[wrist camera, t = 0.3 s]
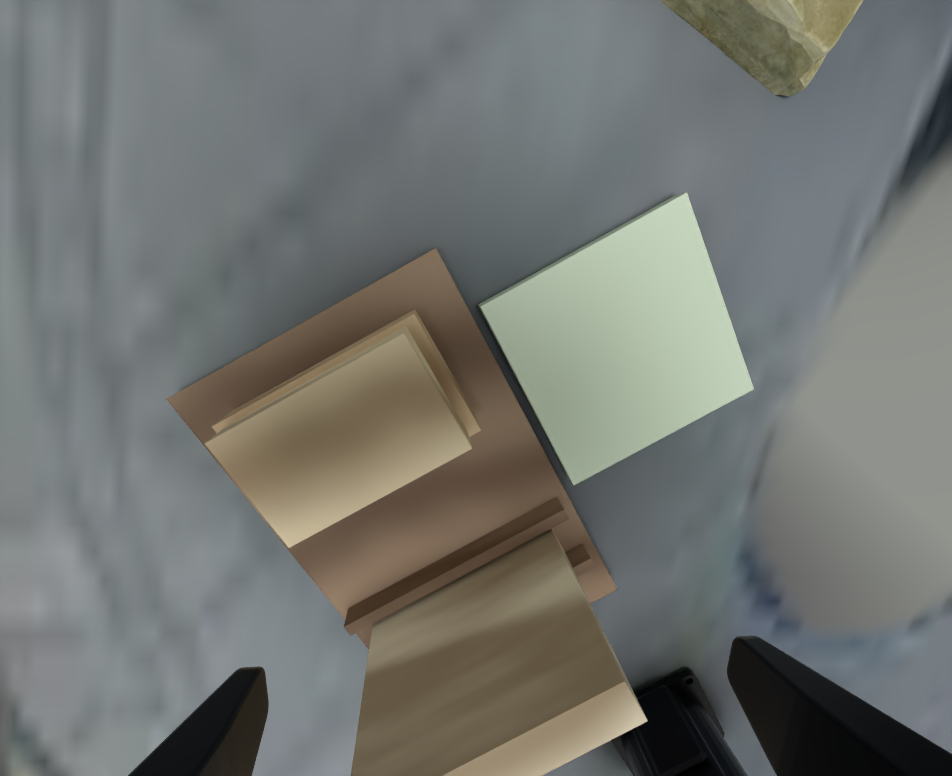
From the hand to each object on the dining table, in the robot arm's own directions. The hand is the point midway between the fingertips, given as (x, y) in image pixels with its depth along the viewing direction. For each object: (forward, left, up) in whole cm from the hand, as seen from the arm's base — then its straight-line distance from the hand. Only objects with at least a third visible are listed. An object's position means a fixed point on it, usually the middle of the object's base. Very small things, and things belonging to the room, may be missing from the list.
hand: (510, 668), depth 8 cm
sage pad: (0, -8, -14) cm, 16 cm away
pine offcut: (+3, +4, -11) cm, 12 cm away
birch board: (-7, +4, -13) cm, 15 cm away
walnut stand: (-2, +4, -14) cm, 14 cm away
